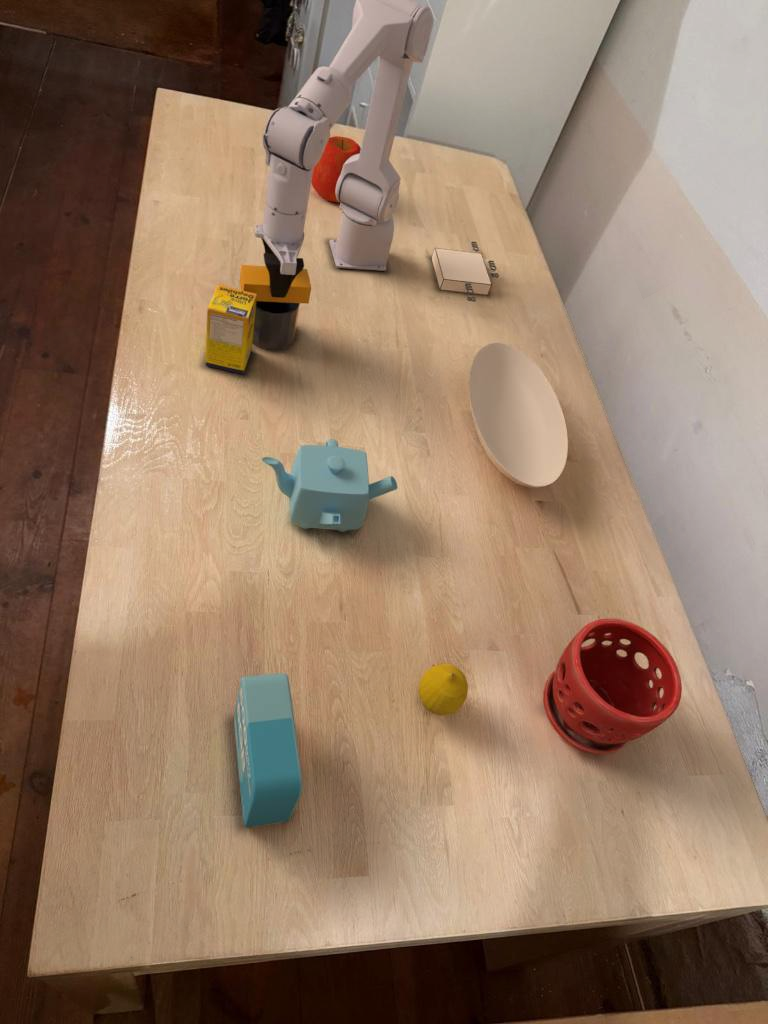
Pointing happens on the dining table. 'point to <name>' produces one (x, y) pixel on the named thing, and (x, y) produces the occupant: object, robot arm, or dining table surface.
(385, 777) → the dining table surface
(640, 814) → the dining table surface
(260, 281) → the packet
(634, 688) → the flower pot
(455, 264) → the container
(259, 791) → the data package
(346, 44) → the robot arm
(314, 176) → the apple
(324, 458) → the teapot
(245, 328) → the supplement box
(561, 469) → the bowl
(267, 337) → the cup
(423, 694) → the fruit
